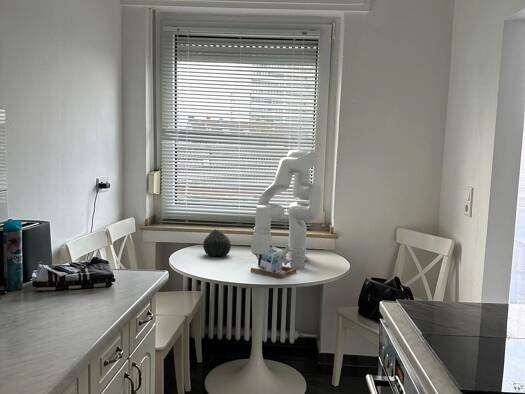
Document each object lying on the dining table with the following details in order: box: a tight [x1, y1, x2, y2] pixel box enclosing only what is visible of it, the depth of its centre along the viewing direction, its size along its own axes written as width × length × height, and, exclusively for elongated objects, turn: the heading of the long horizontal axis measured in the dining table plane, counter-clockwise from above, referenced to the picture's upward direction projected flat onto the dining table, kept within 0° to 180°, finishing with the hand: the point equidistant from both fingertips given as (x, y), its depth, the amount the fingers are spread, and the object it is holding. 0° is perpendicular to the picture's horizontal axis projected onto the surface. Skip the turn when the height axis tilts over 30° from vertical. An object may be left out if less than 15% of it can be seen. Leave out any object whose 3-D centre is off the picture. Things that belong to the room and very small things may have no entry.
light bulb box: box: [258, 246, 285, 273], centre depth 218 cm, size 11×7×11 cm, turn 147°
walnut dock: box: [250, 265, 298, 280], centre depth 219 cm, size 14×17×2 cm
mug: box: [282, 243, 306, 270], centre depth 229 cm, size 8×12×12 cm, turn 94°
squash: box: [202, 228, 232, 258], centre depth 250 cm, size 14×15×15 cm
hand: (261, 267), depth 223 cm, fingers closed
